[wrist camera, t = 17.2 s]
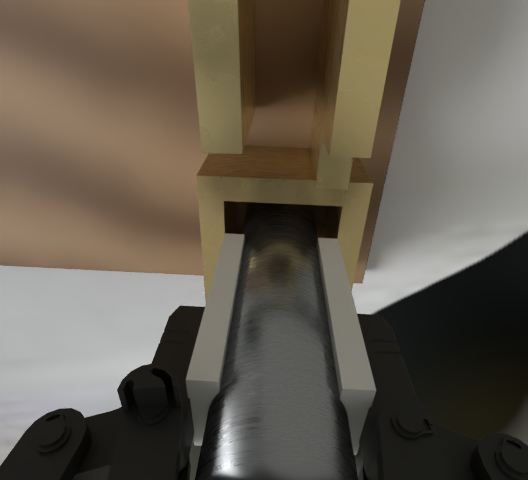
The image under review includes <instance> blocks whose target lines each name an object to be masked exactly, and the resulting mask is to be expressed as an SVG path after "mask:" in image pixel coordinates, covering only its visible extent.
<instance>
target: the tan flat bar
mask: <svg viewBox="0 0 528 480" xmlns="http://www.w3.org/2000/svg"><path fill="white" fill-rule="evenodd" d="M188 7H189V18H190V29H191V40H192V51H193V62H194V72H195V83H196V94H197V105H198V116H199V127H200V137H201V148H202V153H217V154H243V150H244V147H245V144H246V140H247V137H248V134H249V130H250V127H251V124H252V120H253V117H254V114H255V110H256V105H255V14H254V0H188Z"/></svg>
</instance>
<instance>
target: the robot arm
mask: <svg viewBox="0 0 528 480" xmlns="http://www.w3.org/2000/svg"><path fill="white" fill-rule="evenodd" d="M244 244H245V234H226V233H225V235H224V239H223V242H222V246H221V250H220V254H219V257H218V261H217V265H216V268H215V272H214V276H213V280H212V283H211V287H210V291H209V295H208V298H207V302H206V306H205V307H195V306H179V307H178V308H177V309H176V310H175V311H174V312H173V314H172V315H171V316H170V317H169V319H168V322H167V324H166V327H165V330H164V333H163V335H162V337H161V340H160V344H159V345H158V348H157V351H156V353H155V356H154V358H153V361H152V364H149V365H144V366H141V367H139V368H137V369H135V370H133V371H131V372H130V373H129V374H128V375H127V376H126V377H125V378H124V379H123V380H122V382H121V384H120V385H119V387H118V389H117V391H118V394H119V398H120V401H121V404H122V407H121V408H119V409H116V410H113V411H110V412H106V413H102V414H98V415H94V416H90V417H86V418H84V416H83V415H82V414H81V412H79V411H77V410H74V409H72V408H67V409H58V410H55V411H52V412H49V413H47V414H45V415H44V416H42V417H41V418H39V419H38V420H36V421H35V422H34V423H33V424H32V425H31V426H30V427H29V428H28V429H27V430H26V431H25V433H24V434H23V436H22V437H21V438H20V440H19V441H18V442H17V444H16V445H15V447H14V448H13V449H12V451H11V452H10V453H9V455H8V456H7V458H6V459H5V460H4V462H3V463H2V464H1V466H0V480H190V468H191V464H190V456H189V454H190V449H191V445H192V440H193V438H194V445H199V446H202V441H203V436H204V431H205V425H206V420H207V415H208V410H209V406H210V404H211V402H212V400H213V399H214V397H215V396H216V395H217V394H218V393H219V391H220V386H221V380H222V374H223V368H224V362H225V356H226V350H227V344H228V338H229V332H230V327H231V321H232V315H233V309H234V303H235V297H236V291H237V285H238V279H239V273H240V268H241V262H242V256H243V250H244ZM317 251H318V258H319V264H320V271H321V278H322V284H323V291H324V297H325V304H326V311H327V317H328V324H329V330H330V337H331V344H332V350H333V357H334V363H335V370H336V377H337V383H338V390H339V396H340V400H341V402H342V403H343V405H344V406H345V408H346V412H347V416H348V422H349V428H350V434H351V440H352V446H353V452H354V455H357V451H358V448H359V445H360V449H361V454H362V460H363V463H362V466H361V469H360V472H359V475H358V480H528V446H527V445H526V444H525V443H523V442H522V441H521V440H519V439H517V438H515V437H512V436H510V435H508V434H504V433H497V432H493V433H489V434H486V435H484V437H483V438H482V439H481V440H480V441H479V440H477V439H474V438H471V437H468V436H465V435H462V434H460V433H457V432H454V431H452V430H449V429H447V428H445V427H443V426H441V425H440V424H438V423H437V422H435V421H434V419H433V418H432V417H431V416H430V415H429V414H428V412H427V411H426V410H424V409H423V408H422V407H421V406H420V404H419V402H418V400H417V397H416V394H415V392H414V389H413V386H412V383H411V381H410V377H409V375H408V372H407V369H406V366H405V363H404V361H403V358H402V356H401V352H400V349H399V346H398V344H397V341H396V338H395V335H394V333H393V329H392V327H391V326H390V325H389V324H388V323H387V321H386V320H385V319H384V318H383V317H382V316H381V315H369V314H357V312H356V308H355V304H354V300H353V296H352V292H351V288H350V284H349V280H348V276H347V272H346V268H345V264H344V260H343V257H342V253H341V249H340V245H339V241H338V239H332V238H318V243H317Z"/></svg>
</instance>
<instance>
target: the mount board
mask: <svg viewBox="0 0 528 480" xmlns="http://www.w3.org/2000/svg"><path fill="white" fill-rule="evenodd" d="M424 2H425V0H401V1H400V7H399V12H398V17H397V22H396V27H395V33H394V38H393V43H392V48H391V54H390V59H389V64H388V69H387V75H386V80H385V85H384V90H383V95H382V101H381V106H380V111H379V116H378V122H377V127H376V132H375V137H374V143H373V148H372V153H371V158H360V160H361V162H362V164H363V166H364V167H365V169H366V171H367V173H368V175H369V176H370V178H371V180H372V182H373V188H372V193H371V197H370V202H369V207H368V212H367V217H366V222H365V227H364V232H363V237H362V242H361V247H360V252H359V256H358V261H357V266H356V271H355V276H354V281H353V283H363V278H364V274H365V269H366V265H367V260H368V255H369V251H370V246H371V242H372V237H373V233H374V228H375V224H376V219H377V215H378V210H379V206H380V201H381V197H382V192H383V188H384V183H385V178H386V174H387V169H388V165H389V160H390V156H391V151H392V147H393V142H394V138H395V133H396V129H397V124H398V120H399V115H400V111H401V106H402V101H403V97H404V92H405V88H406V83H407V79H408V74H409V70H410V65H411V61H412V56H413V52H414V47H415V43H416V38H417V34H418V29H419V24H420V20H421V15H422V11H423V6H424ZM323 5H324V0H254V14H255V105H256V110H255V114H254V117H253V120H252V124H251V127H250V130H249V134H248V137H247V140H246V144H245V145H248V146H272V147H296V148H310V139H311V129H312V118H313V108H314V98H315V87H316V77H317V67H318V57H319V46H320V36H321V26H322V16H323ZM208 154H209V153H202V148H201V137H200V127H199V116H198V105H197V94H196V83H195V72H194V62H193V51H192V40H191V29H190V18H189V7H188V0H0V265H4V266H24V267H44V268H64V269H84V270H104V271H124V272H144V273H164V274H184V275H204V272H203V258H202V245H201V232H200V219H199V205H198V192H197V179H196V175H197V173H198V172H199V170H200V168H201V166H202V164H203V163H204V161H205V159H206V157H207V155H208ZM247 206H248V202H236V234H242V232H243V226H244V221H245V216H246V211H247ZM325 207H326V206H323V205H313V209H314V215H315V221H316V228H317V234H318V238H321V237H322V230H323V222H324V215H325Z"/></svg>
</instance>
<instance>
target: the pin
mask: <svg viewBox="0 0 528 480" xmlns="http://www.w3.org/2000/svg"><path fill="white" fill-rule="evenodd" d="M242 234H245V244H244V250H243V256H242V262H241V268H240V273H239V279H238V285H237V291H236V297H235V303H234V309H233V315H232V321H231V327H230V332H229V338H228V344H227V350H226V356H225V362H224V368H223V374H222V380H221V386H220V391H219V393H218V394H217V395H216V396H215V397H214V399H213V400H212V402H211V404H210V406H209V410H208V415H207V420H206V425H205V431H204V436H203V441H202V446H201V452H200V457H199V462H198V467H197V473H196V478H195V480H358V476H357V470H356V464H355V458H354V452H353V446H352V440H351V434H350V428H349V422H348V416H347V412H346V408H345V406H344V405H343V403H342V402H341V400H340V396H339V390H338V383H337V377H336V370H335V363H334V357H333V350H332V344H331V337H330V330H329V324H328V317H327V311H326V304H325V297H324V291H323V284H322V278H321V271H320V264H319V258H318V251H317V243H318V234H317V228H316V221H315V215H314V209H313V205H301V204H279V203H257V202H248V206H247V211H246V216H245V221H244V226H243V232H242Z"/></svg>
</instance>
